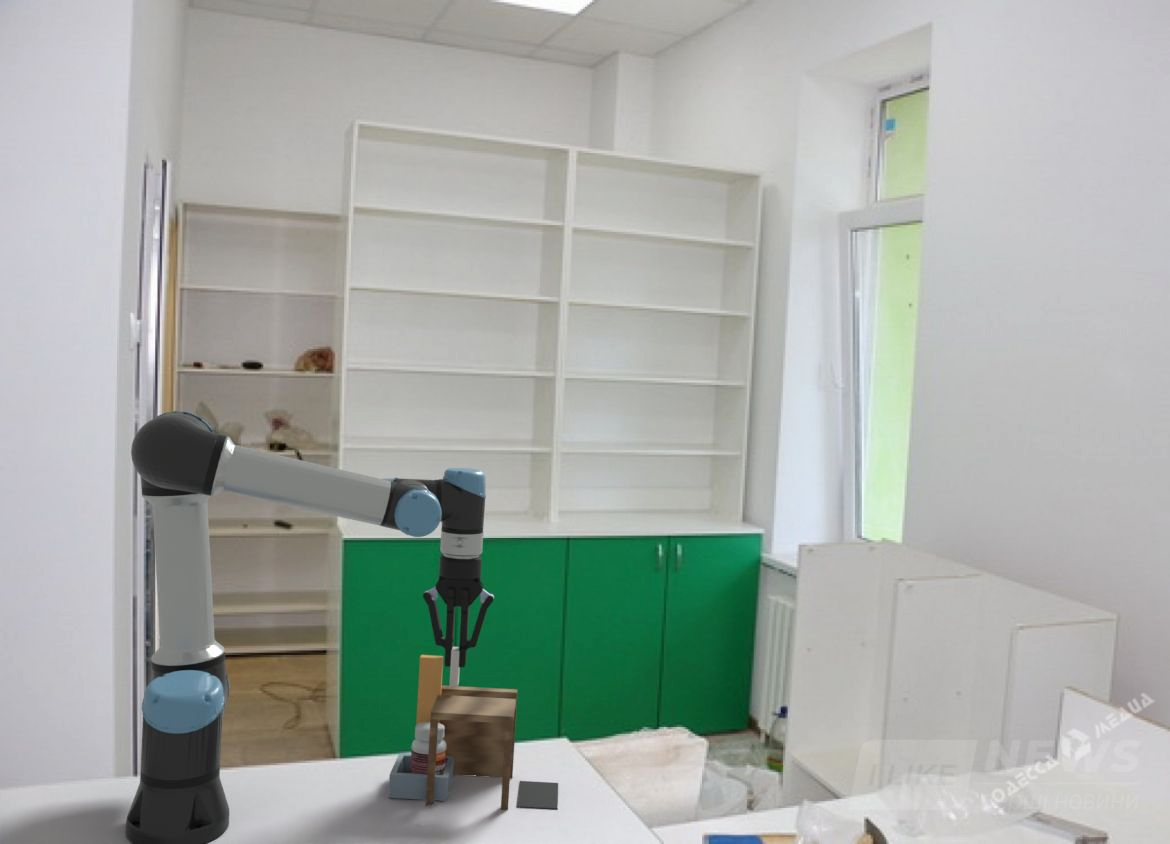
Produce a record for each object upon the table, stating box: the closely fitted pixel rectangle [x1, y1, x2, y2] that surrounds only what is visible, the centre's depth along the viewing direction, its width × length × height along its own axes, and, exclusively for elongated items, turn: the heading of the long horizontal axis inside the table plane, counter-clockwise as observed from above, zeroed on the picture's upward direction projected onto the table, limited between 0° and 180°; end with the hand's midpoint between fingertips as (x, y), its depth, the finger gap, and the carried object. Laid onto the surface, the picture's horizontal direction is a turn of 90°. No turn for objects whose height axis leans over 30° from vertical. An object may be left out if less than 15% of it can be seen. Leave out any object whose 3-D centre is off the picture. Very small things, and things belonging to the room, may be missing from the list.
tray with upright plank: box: [388, 654, 454, 802], centre depth 182 cm, size 10×10×22 cm
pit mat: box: [516, 780, 559, 810], centre depth 183 cm, size 7×11×1 cm, turn 1°
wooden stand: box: [425, 684, 519, 811], centre depth 183 cm, size 14×15×16 cm
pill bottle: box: [410, 722, 447, 775], centre depth 182 cm, size 6×6×11 cm
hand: (454, 684), depth 186 cm, fingers closed
